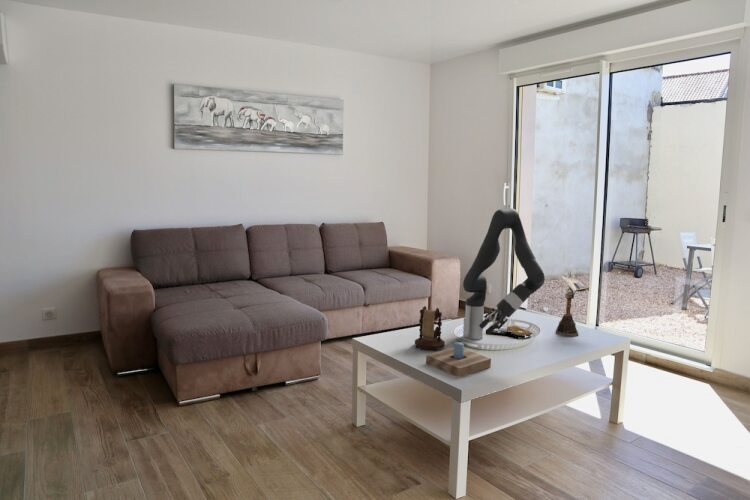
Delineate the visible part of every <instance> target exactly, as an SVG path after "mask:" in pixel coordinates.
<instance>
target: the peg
mask: <svg viewBox="0 0 750 500" xmlns="http://www.w3.org/2000/svg"><path fill="white" fill-rule="evenodd" d="M453 348H454V355H453V358H454V359H457V360H461V359H463V357H464V349H465V344H464V342H460V341H457V342H456V341H455V342H453Z"/></svg>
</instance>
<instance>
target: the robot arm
mask: <svg viewBox="0 0 750 500" xmlns="http://www.w3.org/2000/svg"><path fill="white" fill-rule="evenodd" d="M506 229H507V230H508V229H510V231H512V233H513V235H514V236H513V237H514V253H515V256H516V258H517V260H518V263H519V264H520V266H521V268H523V270H524V273H525V274H526V279H525V280H524V281H523V282H522V283H519V284H517V286H515V287H514V288H513V289H512V290H511V291H510V292H509V293H507V294H506V295H505V296H504V297H503V298H502V299H501V300H500V301H499V302H498V303H497V304H496V308H497V309H495V308H491V309H490V310H489V311H488V312H487V313H486V314H485V315H484V313H485V312H484V311H485V302H486V297H487V288H488V287H487V286H488V285H487V277H486V276H485V275H484V274H483V273H484V272H485V271H487V269H489V268H490V267H492V265H493V264H494V263H495V262H496V260H497V258H498V256H499V254H500V252H501V246H500V240H499V239H500V236H501V233H502V232H503V230H506ZM545 280H546V279H545V273H544V271H543V269H542V268H541V266H540V265H539V263H538V261H537V260H536V256H535V255H534V253H533V250H532V249H531V247H530V244H529V242H528V239H527V237H526V233H525V229H524V226H523V223H522V219H521V217H520V215H519V213H518V211H517V210H516V209H515V208H512V207H511V208H502V209H497V210H495V212H494V214H493V215H492V217H491V221H490V224H489V226H488V230H487V232H486V235H485V237H484V239H483V242H482V243H481V245H480V248H479V249H478V252H477V254H476V257H475V259H474V260H473V263H472V264H471V267H470V268H469V269H468V272H466V274H465V276H464V279H463V281H462V284H463V285H462V289H463V290H464V291H465V293H466V292H467V293H471V294H472V293H473V294H472V295H471V296H469V297H467V298H466V300H465V317H463V326H462V327H463V331H462V336H463V337H465V338H466V339H469V340H481V339H483V333H484V328H485V327H487V325H488V324H489V323H491V322H492V324H491V325H490V326H489V327H488V328H487V329H486V330H485V333H486V334H487V335H491V334H492V333H493V332H494V331H495V330H500V329H501V328H502V327H503V326H504V325H505V324H506V322H508V320H509V319H508V318H510V317H511V316H512V315H513V314H514V313H516V312H517V310H519V309H520V308H521V306H522V304H524V302H526V301H527V300H528V299H529V298H530V296H531V295H533V294H534V293H536V292H537V291H538V290H540V288H541V287H543V285H544V284H545Z"/></svg>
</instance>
